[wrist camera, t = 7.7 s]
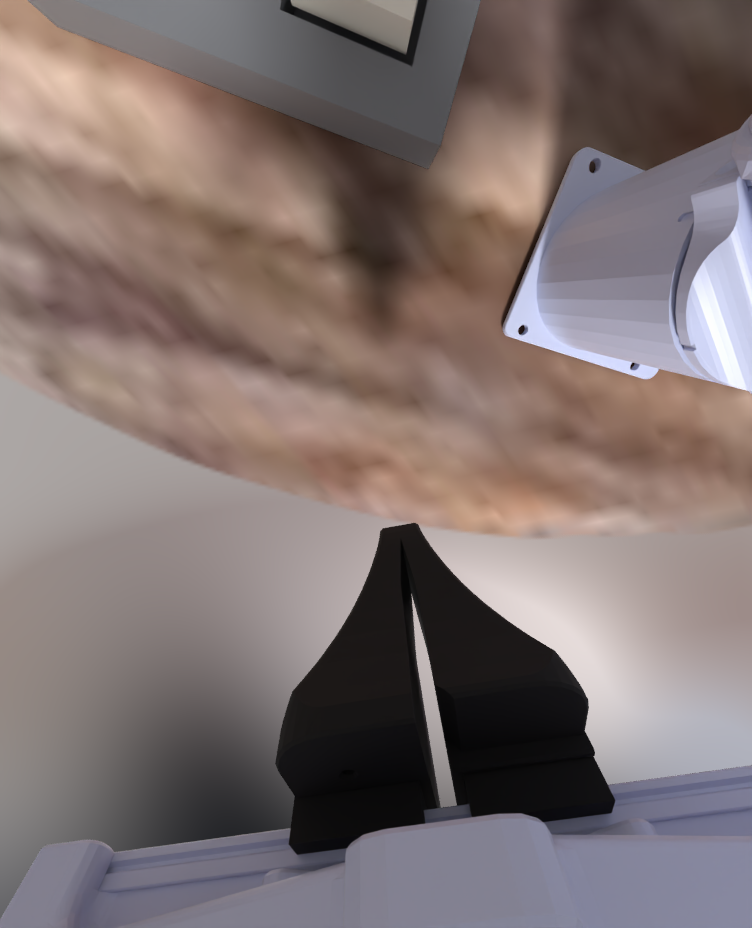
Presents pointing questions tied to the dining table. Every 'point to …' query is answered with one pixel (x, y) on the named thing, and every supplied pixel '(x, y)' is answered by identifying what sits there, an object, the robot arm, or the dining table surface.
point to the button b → (368, 18)
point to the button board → (297, 61)
